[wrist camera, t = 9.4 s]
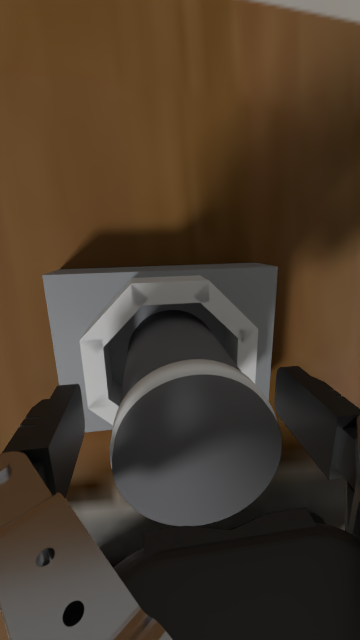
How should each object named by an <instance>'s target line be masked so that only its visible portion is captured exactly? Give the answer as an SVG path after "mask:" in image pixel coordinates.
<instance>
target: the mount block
mask: <svg viewBox="0 0 360 640" xmlns="http://www.w3.org/2000/svg"><path fill="white" fill-rule="evenodd" d="M277 275H278V267H277V266H272V265H266V264H261V263H230V264H201V265H171V266H142V267H113V268H83V269H59V270H56V271H53V272H50V273H47V274H44V275H42V276H43V282H44V289H45V295H46V302H47V308H48V315H49V321H50V328H51V334H52V341H53V347H54V354H55V360H56V367H57V373H58V380H59V385H67V384H79V385H80V388H81V395H82V403H83V410H84V418H85V432H93V431H103V430H112V429H113V424H114V419H115V416H116V413H117V410H118V408H119V406H120V400H121V393H122V386H123V379H124V373H125V366H126V359H127V352H128V345H129V341H130V338H131V336H132V334H133V332H134V330H135V329H136V328H137V326H138V325H139V324H140V323H141V322H142V321H143V320H145V319H146V318H147V317H149V316H151V315H153V314H155V313H158V312H161V311H165V310H181V311H185V312H188V313H191V314H193V315H195V316H196V317H198V318H199V319H201V320H202V321H203V322H204V323H205V324H206V326H207V327H208V328H209V329H210V331H211V332H212V333H213V335H214V336H215V337H216V339H217V340H218V341H219V343H220V344H221V345H222V347H223V348H224V349H225V351H226V352H227V353H228V355H229V356H230V357H231V359H232V360H233V361H234V362H235V364H236V365H237V366H238V368H239V369H240V370H241V372H242V373H244V374H245V375H246V376H247V377H249V378H250V379H251V380H252V382H253V383H254V384H255V385H256V386H257V387H258V389H259V390H260V391H261V392H262V394H263V395H264V396H265V398H266V399H267V400H269V386H270V372H271V358H272V344H273V330H274V316H275V303H276V289H277Z"/></svg>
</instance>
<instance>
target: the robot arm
mask: <svg viewBox="0 0 360 640" xmlns="http://www.w3.org/2000/svg"><path fill="white" fill-rule="evenodd" d="M275 409H276V412H277V414H278V416H279V417H280V419H281V420H282V421H283V423H284V424H285V425H286V426H287V428H288V429H289V430H290V431H291V433H292V434H293V435H294V436H295V438H296V439H297V440H298V442H299V443H300V444H301V445H302V447H303V448H304V449H305V450H306V452H307V453H308V454H309V455H310V457H311V458H312V459H313V461H314V462H315V463H316V464H317V466H318V467H319V468H320V469H321V471H322V472H323V473H324V474H325V476H326V477H327V478H328V480H331V479H338V478H345V480H346V481H347V482H346V488H345V531H344V530H342V529H339V528H336V527H333V526H330V525H325V524H321V523H315V522H314V520H313V519H312V517H311V515H310V514H309V512H308V511H307V509H306V508H301V509H294V510H287V511H281V512H274V513H268V514H266V515H263V516H261V517H259V518H257V519H255V520H253V521H251V522H248V523H246V524H244V525H242V526H240V527H238V528H235V529H233V530H222V529H213V528H204V527H194V526H180V527H173V528H166V529H159V530H153V531H146V532H144V548H143V549H140V550H138V551H136V552H134V553H133V554H131V555H129V556H128V557H126V558H125V559H123V560H122V561H121V562H120V563H118V564H117V565H116V566H115V567H114V568H113V567H112V566H111V564H110V563H109V561H108V560H107V559H106V557H105V556H104V554H103V553H102V551H101V550H100V548H99V547H98V546H97V544H96V543H95V541H94V540H93V538H92V537H91V535H90V534H89V533H88V531H87V530H86V528H85V527H84V525H83V524H82V522H81V521H80V520H79V518H78V517H77V515H76V514H75V512H74V511H73V509H72V508H71V507H70V505H69V504H68V502H67V501H66V499H65V498H66V495H67V492H68V488H69V485H70V481H71V478H72V475H73V471H74V468H75V464H76V461H77V458H78V454H79V451H80V447H81V444H82V441H83V437H84V432H85V418H84V410H83V403H82V395H81V388H80V385H79V384H67V385H58V386H57V387H56V389H55V391H54V392H53V394H52V396H51V398H50V399H44V400H42V401H40V402H39V403H38V404H36V405H35V406H34V407H32V408H31V410H30V411H29V413H28V414H27V416H26V417H25V419H24V420H23V422H22V423H21V425H20V427H19V428H18V429H17V431H16V433H15V434H14V436H13V437H12V439H11V440H10V442H9V443H8V445H7V446H6V448H5V449H4V451H3V452H2V453H1V454H0V610H1V614H2V617H3V620H4V624H5V627H6V630H7V634H8V637H9V640H360V409H359V408H358V407H356V406H355V405H354V404H353V403H351V402H350V401H349V400H347V399H346V398H345V397H343V396H341V394H339V393H338V392H337V391H335V390H334V389H333V388H332V387H330V386H329V385H328V384H326V383H325V382H323V381H321V380H319V379H316V378H314V377H311V376H310V375H309V374H308V373H306V372H305V371H304V370H303V369H301V368H300V367H299V366H291V367H280V368H278V370H277V376H276V389H275Z"/></svg>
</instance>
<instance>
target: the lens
mask: <svg viewBox="0 0 360 640" xmlns="http://www.w3.org/2000/svg"><path fill="white" fill-rule="evenodd" d="M281 451H282V439H281V432H280V429H279V425H278V423H277V419H276V416H275V413H274V411H273V409H272V407H271V405H270V403H269V402H268V400H267V399H266V398H265V396H264V395H263V394H262V392H261V391H260V390H259V389H258V387H257V386H256V385H255V384H254V383H253V382H252V380H251V379H250V378H249V377H247V376H246V375H245V374H244V373H242V372H241V370H240V369H239V368H238V366H237V365H236V364H235V362H234V361H233V360H232V359H231V357H230V356H229V355H228V353H227V352H226V351H225V349H224V348H223V347H222V345H221V344H220V343H219V341H218V340H217V339H216V337H215V336H214V335H213V333H212V332H211V331H210V329H209V328H208V327H207V326H206V324H205V323H204V322H203V321H202V320H201V319H199V318H198V317H196V316H195V315H193V314H191V313H188V312H185V311H181V310H165V311H161V312H158V313H155V314H153V315H151V316H149V317H147V318H146V319H145V320H143V321H142V322H141V323H140V324H139V325H138V326H137V328H136V329H135V330H134V332H133V334H132V336H131V338H130V341H129V345H128V352H127V359H126V366H125V373H124V379H123V386H122V393H121V400H120V406H119V408H118V410H117V413H116V416H115V419H114V424H113V430H112V436H111V443H110V461H111V467H112V472H113V477H114V480H115V483H116V486H117V488H118V490H119V492H120V494H121V495H122V497H123V498H124V499H125V500H126V502H127V503H128V504H129V505H130V506H131V507H132V508H133V509H135V510H136V511H137V512H139V513H140V514H142V515H143V516H145V517H147V518H149V519H151V520H154V521H157V522H160V523H164V524H168V525H174V526H199V525H205V524H210V523H213V522H217V521H220V520H223V519H225V518H228V517H230V516H232V515H234V514H236V513H238V512H239V511H241V510H242V509H244V508H245V507H247V506H248V505H250V504H251V503H252V502H253V501H254V500H256V499H257V498H258V497H259V496H260V495H261V494H262V492H263V491H264V490H265V489H266V487H267V486H268V485H269V483H270V482H271V480H272V478H273V477H274V475H275V472H276V470H277V468H278V465H279V461H280V457H281Z"/></svg>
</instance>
